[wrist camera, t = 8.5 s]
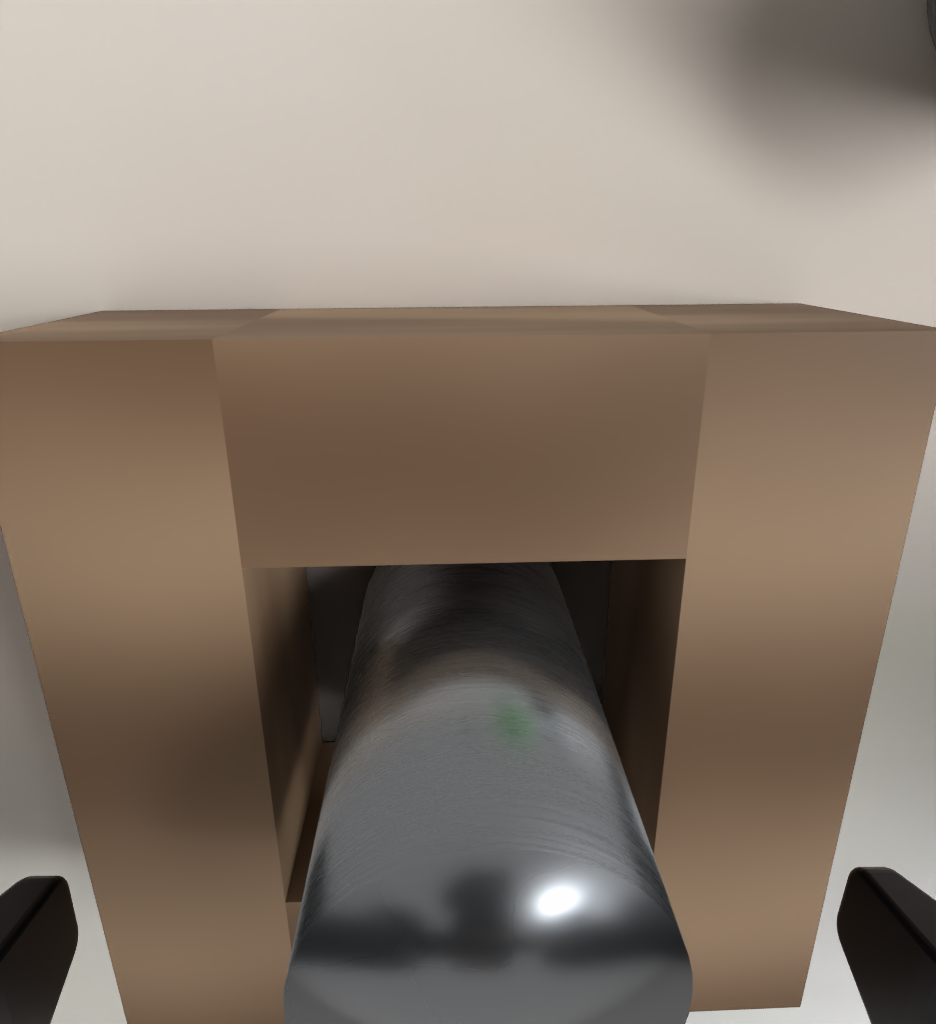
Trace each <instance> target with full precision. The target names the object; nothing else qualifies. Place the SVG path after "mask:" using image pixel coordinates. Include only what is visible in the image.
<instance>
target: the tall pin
mask: <svg viewBox="0 0 936 1024" xmlns="http://www.w3.org/2000/svg"><path fill="white" fill-rule="evenodd" d="M692 994H693V974H692V969H691V964H690V959H689V955H688V952H687V949H686V946H685V943H684V941H683V938H682V935H681V932H680V929H679V926H678V923H677V921H676V918H675V915H674V912H673V909H672V906H671V903H670V900H669V898H668V895H667V892H666V889H665V886H664V883H663V880H662V878H661V875H660V872H659V869H658V866H657V863H656V860H655V857H654V855H653V852H652V849H651V846H650V843H649V840H648V837H647V835H646V832H645V829H644V826H643V823H642V820H641V817H640V814H639V812H638V809H637V806H636V803H635V800H634V797H633V794H632V792H631V789H630V786H629V783H628V780H627V777H626V774H625V771H624V769H623V766H622V763H621V760H620V757H619V754H618V751H617V749H616V746H615V743H614V740H613V737H612V734H611V731H610V728H609V726H608V723H607V720H606V717H605V714H604V711H603V708H602V706H601V703H600V700H599V697H598V694H597V691H596V688H595V686H594V683H593V680H592V677H591V674H590V671H589V668H588V665H587V663H586V660H585V657H584V654H583V651H582V648H581V645H580V643H579V640H578V637H577V634H576V631H575V628H574V625H573V622H572V620H571V617H570V614H569V611H568V608H567V605H566V602H565V600H564V597H563V594H562V591H561V588H560V585H559V582H558V580H557V577H556V575H555V572H554V571H553V569H552V567H551V565H550V564H549V562H511V563H466V564H420V565H377V567H376V568H375V570H374V572H373V574H372V576H371V578H370V581H369V583H368V586H367V590H366V594H365V598H364V603H363V608H362V613H361V618H360V623H359V627H358V632H357V637H356V642H355V647H354V652H353V656H352V661H351V666H350V671H349V676H348V681H347V686H346V690H345V695H344V700H343V705H342V710H341V715H340V719H339V724H338V729H337V734H336V739H335V744H334V748H333V753H332V758H331V763H330V768H329V773H328V777H327V782H326V787H325V792H324V797H323V802H322V806H321V811H320V816H319V821H318V826H317V831H316V835H315V840H314V845H313V850H312V855H311V860H310V864H309V869H308V874H307V879H306V884H305V889H304V893H303V898H302V903H301V908H300V913H299V918H298V922H297V927H296V932H295V937H294V942H293V947H292V951H291V956H290V961H289V966H288V971H287V976H286V980H285V986H284V998H283V1009H284V1018H285V1024H685V1022H686V1019H687V1017H688V1014H689V1011H690V1005H691V1000H692Z"/></svg>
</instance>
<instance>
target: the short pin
mask: <svg viewBox="0 0 936 1024" xmlns="http://www.w3.org/2000/svg"><path fill="white" fill-rule="evenodd" d="M927 13H928V21H929V28H930V33H931V37H932V40H933V44H934V48H935V50H936V0H927Z"/></svg>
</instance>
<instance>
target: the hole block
mask: <svg viewBox="0 0 936 1024" xmlns="http://www.w3.org/2000/svg"><path fill="white" fill-rule="evenodd" d="M935 405H936V328H935V327H930V326H924V325H918V324H913V323H907V322H901V321H896V320H890V319H884V318H879V317H873V316H867V315H862V314H856V313H851V312H845V311H839V310H834V309H828V308H822V307H817V306H811V305H805V304H711V305H617V306H522V307H428V308H333V309H238V310H144V311H100V312H95V313H90V314H86V315H81V316H76V317H72V318H67V319H62V320H57V321H53V322H48V323H43V324H38V325H34V326H29V327H24V328H20V329H15V330H10V331H5V332H1V333H0V525H1V529H2V533H3V537H4V541H5V545H6V549H7V553H8V557H9V561H10V565H11V569H12V572H13V576H14V580H15V584H16V588H17V592H18V596H19V600H20V604H21V608H22V612H23V616H24V620H25V624H26V627H27V631H28V635H29V639H30V643H31V647H32V651H33V655H34V659H35V663H36V667H37V671H38V675H39V679H40V682H41V686H42V690H43V694H44V698H45V702H46V706H47V710H48V714H49V718H50V722H51V726H52V730H53V734H54V738H55V741H56V745H57V749H58V753H59V757H60V761H61V765H62V769H63V773H64V777H65V781H66V785H67V789H68V793H69V796H70V800H71V804H72V808H73V812H74V816H75V820H76V824H77V828H78V832H79V836H80V840H81V844H82V848H83V851H84V855H85V859H86V863H87V867H88V871H89V875H90V879H91V883H92V887H93V891H94V895H95V899H96V903H97V906H98V910H99V914H100V918H101V922H102V926H103V930H104V934H105V938H106V942H107V946H108V950H109V954H110V958H111V962H112V965H113V969H114V973H115V977H116V981H117V985H118V989H119V993H120V997H121V1001H122V1005H123V1009H124V1013H125V1017H126V1020H127V1024H285V1018H284V1009H283V998H284V986H285V980H286V976H287V971H288V966H289V961H290V956H291V951H292V947H293V942H294V937H295V932H296V927H297V922H298V918H299V913H300V908H301V903H302V898H303V893H304V889H305V884H306V879H307V874H308V869H309V864H310V860H311V855H312V850H313V845H314V840H315V835H316V831H317V826H318V821H319V816H320V811H321V806H322V802H323V797H324V792H325V787H326V782H327V777H328V773H329V768H330V763H331V758H332V753H333V748H334V744H335V742H324V743H322V733H321V722H320V712H319V701H318V691H317V680H316V670H315V659H314V649H313V638H312V628H311V617H310V607H309V596H308V586H307V576H306V567H330V566H375V565H420V564H466V563H511V562H557V561H602V560H612V567H611V581H610V596H609V610H608V624H607V639H606V653H605V667H604V682H603V696H602V708H603V711H604V714H605V717H606V720H607V723H608V726H609V728H610V731H611V734H612V737H613V740H614V743H615V746H616V749H617V751H618V754H619V757H620V760H621V763H622V766H623V769H624V771H625V774H626V777H627V780H628V783H629V786H630V789H631V792H632V794H633V797H634V800H635V803H636V806H637V809H638V812H639V814H640V817H641V820H642V823H643V826H644V829H645V832H646V835H647V837H648V840H649V843H650V846H651V849H652V852H653V855H654V857H655V860H656V863H657V866H658V869H659V872H660V875H661V878H662V880H663V883H664V886H665V889H666V892H667V895H668V898H669V900H670V903H671V906H672V909H673V912H674V915H675V918H676V921H677V923H678V926H679V929H680V932H681V935H682V938H683V941H684V943H685V946H686V949H687V952H688V955H689V959H690V964H691V969H692V974H693V994H692V1000H691V1005H690V1011H689V1012H693V1011H717V1010H740V1009H764V1008H787V1007H800V1005H801V1001H802V996H803V992H804V988H805V983H806V979H807V974H808V970H809V965H810V961H811V956H812V952H813V948H814V943H815V939H816V934H817V930H818V925H819V921H820V916H821V912H822V908H823V903H824V899H825V894H826V890H827V885H828V881H829V876H830V872H831V868H832V863H833V859H834V854H835V850H836V845H837V841H838V836H839V832H840V827H841V823H842V819H843V814H844V810H845V805H846V801H847V796H848V792H849V787H850V783H851V779H852V774H853V770H854V765H855V761H856V756H857V752H858V747H859V743H860V739H861V734H862V730H863V725H864V721H865V716H866V712H867V707H868V703H869V699H870V694H871V690H872V685H873V681H874V676H875V672H876V667H877V663H878V659H879V654H880V650H881V645H882V641H883V636H884V632H885V627H886V623H887V619H888V614H889V610H890V605H891V601H892V596H893V592H894V587H895V583H896V579H897V574H898V570H899V565H900V561H901V556H902V552H903V547H904V543H905V539H906V534H907V530H908V525H909V521H910V516H911V512H912V507H913V503H914V499H915V494H916V490H917V485H918V481H919V476H920V472H921V467H922V463H923V459H924V454H925V450H926V445H927V441H928V436H929V432H930V427H931V423H932V419H933V414H934V410H935Z"/></svg>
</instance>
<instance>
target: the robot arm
mask: <svg viewBox="0 0 936 1024" xmlns="http://www.w3.org/2000/svg"><path fill="white" fill-rule="evenodd" d="M837 931H838V936H839V939H840V942H841V945H842V948H843V951H844V953H845V956H846V958H847V961H848V964H849V966H850V969H851V972H852V974H853V977H854V980H855V982H856V985H857V987H858V990H859V993H860V995H861V998H862V1001H863V1003H864V1006H865V1009H866V1011H867V1014H868V1016H869V1019H870V1022H871V1024H936V900H934V899H933V898H932V897H930V896H929V895H927V894H926V893H925V892H923V891H922V890H921V889H919V888H918V887H916V886H915V885H914V884H912V883H911V882H910V881H908V880H907V879H906V878H904V877H903V876H901V875H900V874H899V873H897V872H896V871H894V870H892V869H890V868H886V867H857V868H854V869H853V870H852V871H851V872H850V874H849V876H848V880H847V883H846V887H845V891H844V894H843V898H842V901H841V905H840V908H839V912H838V916H837ZM77 941H78V926H77V921H76V917H75V912H74V908H73V903H72V899H71V894H70V890H69V886H68V883H67V881H66V880H65V879H64V878H63V877H61V876H29V877H26V878H24V879H22V880H20V881H18V882H17V883H15V884H14V885H13V886H12V887H10V888H9V889H8V890H7V891H5V892H4V893H3V894H1V895H0V1024H50V1023H51V1020H52V1017H53V1014H54V1011H55V1009H56V1006H57V1003H58V1000H59V997H60V994H61V991H62V988H63V986H64V983H65V980H66V977H67V974H68V971H69V968H70V965H71V963H72V960H73V957H74V954H75V950H76V946H77Z"/></svg>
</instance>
